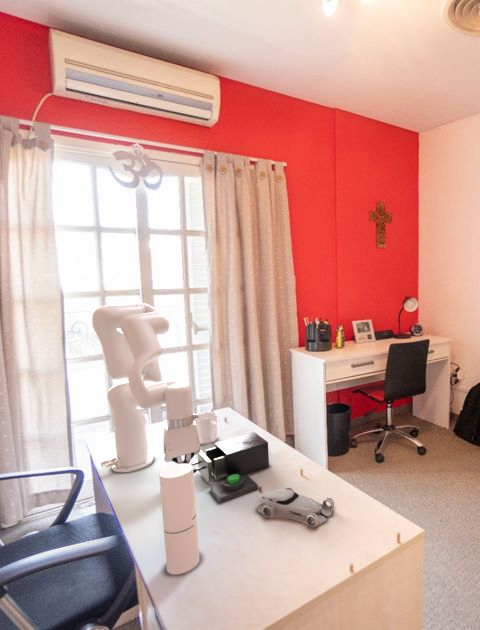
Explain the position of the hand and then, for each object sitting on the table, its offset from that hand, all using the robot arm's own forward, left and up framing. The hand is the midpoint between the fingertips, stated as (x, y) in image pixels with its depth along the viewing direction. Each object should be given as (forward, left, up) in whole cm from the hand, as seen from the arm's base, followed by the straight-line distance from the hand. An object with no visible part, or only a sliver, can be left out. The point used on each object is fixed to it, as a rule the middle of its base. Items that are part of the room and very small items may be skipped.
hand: (184, 473), depth 140 cm
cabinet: (+19, 0, -5) cm, 20 cm away
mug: (+17, +32, -5) cm, 37 cm away
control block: (+11, -14, -5) cm, 18 cm away
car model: (+20, -38, -5) cm, 43 cm away
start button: (+11, -14, -2) cm, 18 cm away
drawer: (+10, 0, -4) cm, 11 cm away
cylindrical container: (-11, -40, -5) cm, 41 cm away
